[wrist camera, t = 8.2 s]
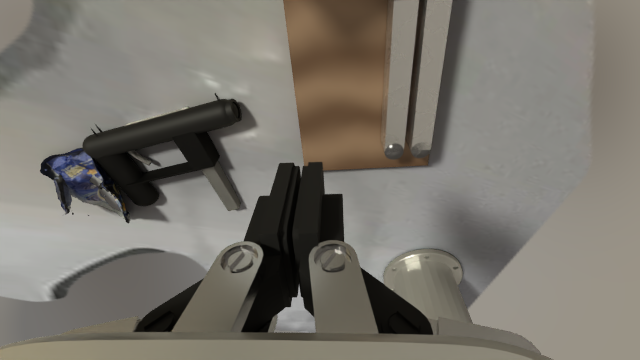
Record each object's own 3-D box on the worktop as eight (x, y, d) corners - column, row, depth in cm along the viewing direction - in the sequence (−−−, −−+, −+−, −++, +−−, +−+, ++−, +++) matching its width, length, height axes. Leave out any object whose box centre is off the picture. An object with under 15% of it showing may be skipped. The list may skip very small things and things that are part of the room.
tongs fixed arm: (422, 143, 35) (430, 158, 33) (404, 144, 35) (410, 159, 33) (451, -82, 24) (466, -88, 21) (423, -79, 24) (435, -85, 21)
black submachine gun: (277, 204, 41) (222, 93, 31) (148, 230, 44) (63, 137, 35) (280, 188, 43) (230, 81, 34) (158, 214, 47) (81, 123, 37)
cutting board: (424, 158, 38) (427, 165, 37) (306, 165, 39) (305, 171, 38) (461, -114, 24) (468, -119, 23) (273, -93, 25) (270, -96, 24)
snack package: (72, 209, 45) (150, 219, 46) (33, 234, 40) (123, 245, 40) (51, 132, 40) (139, 143, 40) (3, 148, 35) (106, 161, 35)
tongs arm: (398, 145, 35) (403, 159, 33) (379, 146, 35) (383, 160, 33) (418, -79, 24) (428, -84, 21) (391, -76, 24) (398, -81, 22)
